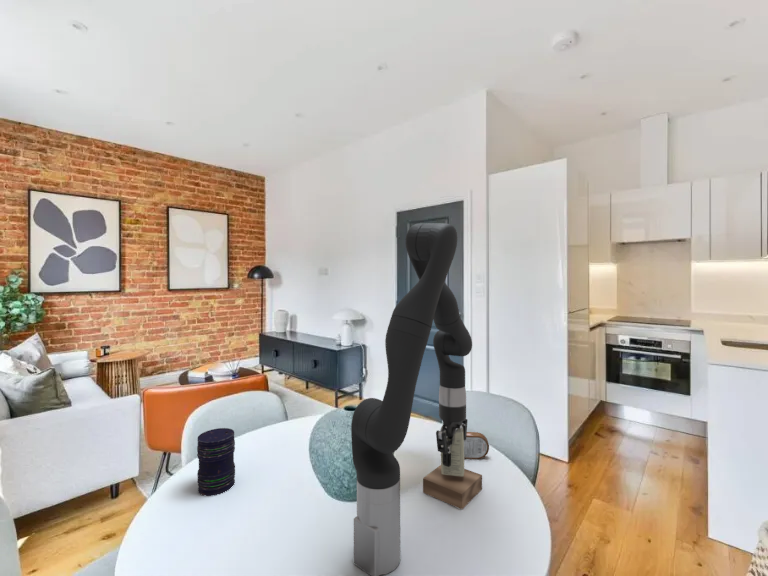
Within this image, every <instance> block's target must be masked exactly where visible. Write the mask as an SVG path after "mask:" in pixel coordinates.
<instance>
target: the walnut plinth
mask: <svg viewBox="0 0 768 576" xmlns="http://www.w3.org/2000/svg"><path fill="white" fill-rule="evenodd" d="M482 490H483V474H480V473H477V472H475V471H472V470H469V469H466V468H464V476H463V477H462V476H453V475H444V474H441V464H439V466H437V467H436V468H434V469H433V470H432V471H431V472H430V473H428V474H427V475H425V476H424V477H423V478H422V492H423V494H425V495H427V496H430V497H432V498H434V499H437V500H439V501H442V502H443V501H444V502H443V503H446V504H448V505H450V506H454V507H456V508H458V509H460V510H464V508H465V507H466V506H467V505H468V504H469V503H470V502H471V501H472V500H474V498H475V497H476V496H477V495H478V494H479V493H480V492H481V491H482Z"/></svg>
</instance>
